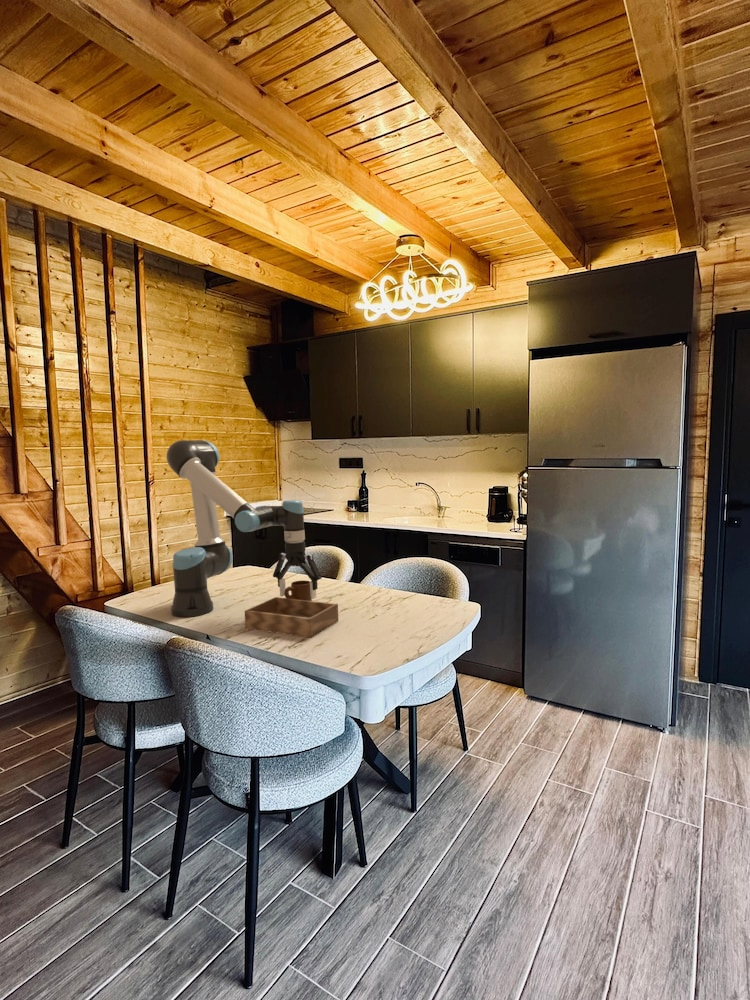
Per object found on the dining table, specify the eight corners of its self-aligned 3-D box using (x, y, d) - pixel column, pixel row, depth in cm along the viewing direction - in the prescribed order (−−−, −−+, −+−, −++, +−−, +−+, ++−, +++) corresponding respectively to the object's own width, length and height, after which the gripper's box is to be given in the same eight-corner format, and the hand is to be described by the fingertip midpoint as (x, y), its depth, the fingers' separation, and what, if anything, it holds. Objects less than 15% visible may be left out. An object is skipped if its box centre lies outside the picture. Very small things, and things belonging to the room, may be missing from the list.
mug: (292, 613, 198) (291, 588, 197) (278, 610, 202) (277, 585, 201) (316, 606, 207) (315, 581, 206) (302, 602, 212) (301, 579, 211)
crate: (245, 628, 183) (244, 610, 182) (276, 613, 199) (275, 597, 198) (311, 637, 172) (310, 619, 171) (338, 620, 188) (337, 603, 188)
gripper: (261, 542, 204) (265, 596, 206) (318, 544, 193) (321, 602, 195) (273, 538, 211) (276, 592, 213) (328, 540, 200) (331, 596, 202)
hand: (298, 596), depth 204 cm, fingers open, 13 cm apart
